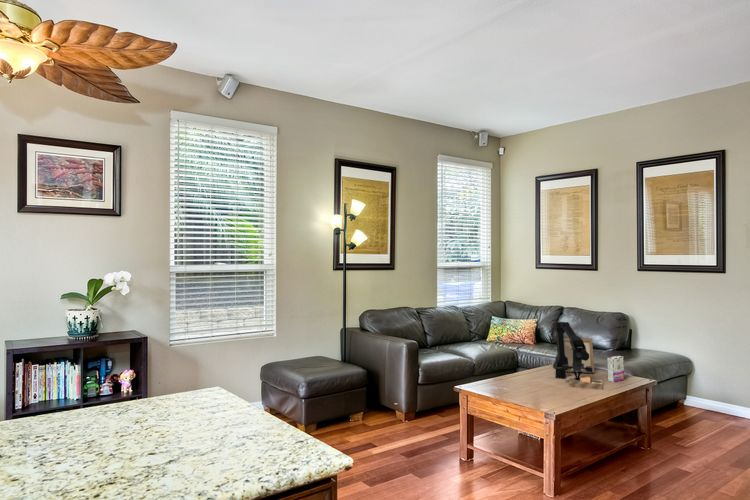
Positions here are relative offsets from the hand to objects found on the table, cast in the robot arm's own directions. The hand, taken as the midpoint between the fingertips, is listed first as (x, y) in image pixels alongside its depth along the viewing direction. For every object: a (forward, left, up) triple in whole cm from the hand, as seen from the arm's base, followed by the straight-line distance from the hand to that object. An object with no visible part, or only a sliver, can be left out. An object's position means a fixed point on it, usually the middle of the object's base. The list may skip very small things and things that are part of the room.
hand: (577, 381), depth 336 cm
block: (+5, 0, -2) cm, 5 cm away
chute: (+5, 0, -3) cm, 6 cm away
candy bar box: (+24, +24, -3) cm, 34 cm away
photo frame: (-2, +45, -3) cm, 45 cm away
